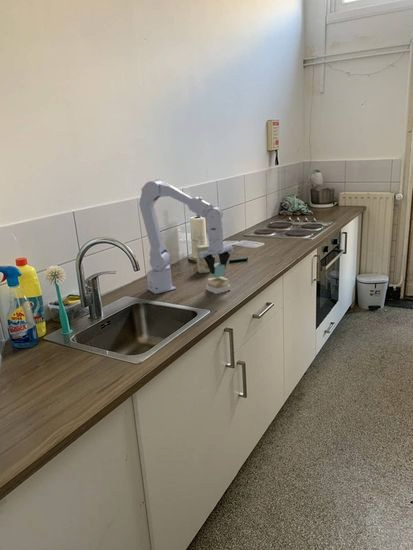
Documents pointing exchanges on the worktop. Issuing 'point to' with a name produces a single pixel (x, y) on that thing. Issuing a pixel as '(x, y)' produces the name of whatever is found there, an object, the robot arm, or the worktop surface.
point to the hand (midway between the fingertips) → (217, 272)
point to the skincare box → (202, 259)
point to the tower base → (218, 289)
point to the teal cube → (218, 270)
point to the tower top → (217, 282)
